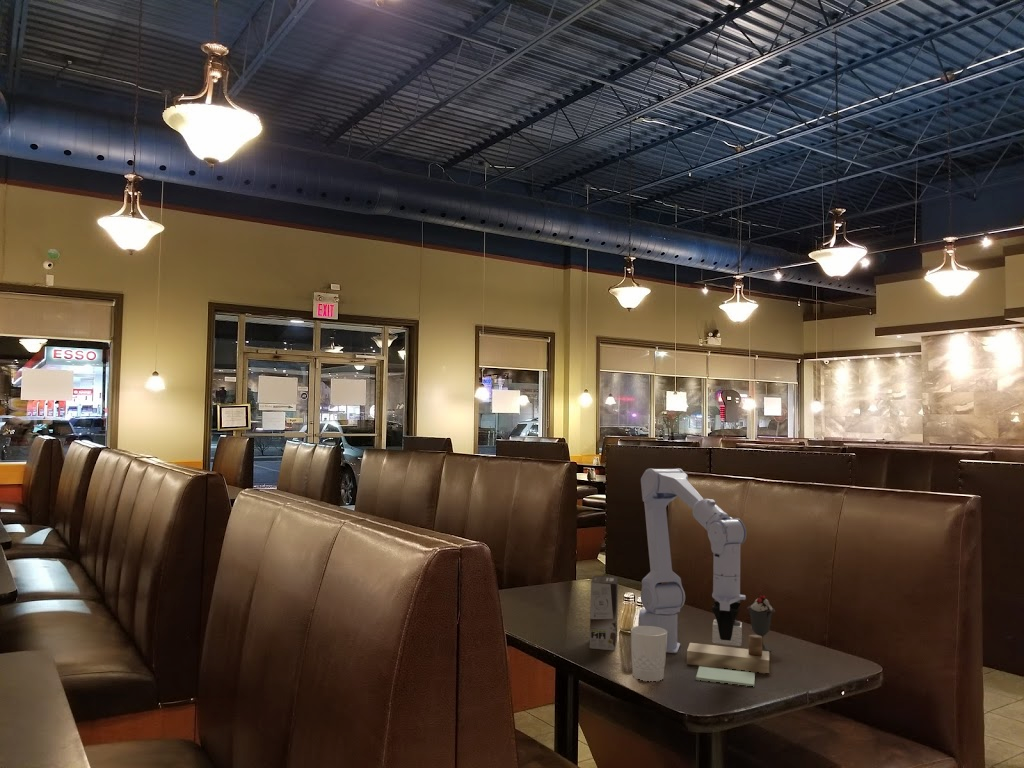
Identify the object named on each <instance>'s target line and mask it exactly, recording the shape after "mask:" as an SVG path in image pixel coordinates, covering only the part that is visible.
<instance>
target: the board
mask: <svg viewBox="0 0 1024 768" xmlns="http://www.w3.org/2000/svg"><path fill="white" fill-rule="evenodd" d="M755 676H756V672H749V671H741V670H732V669H724V668H716V667H708V666H700V665H698V668H697V673H696V675H695V680H696V681H700V680H701V681H702V682H708V681H710V682H709V683H716V682H720V683H719V684H724V683H728V684H727V685H732V684H738V685H737V686H739V685H746V686H745V687H747V686H753V687H752V688H755V683H756V682H755ZM701 681H700V682H701Z"/></svg>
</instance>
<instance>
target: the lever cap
mask: <svg viewBox="0 0 1024 768" xmlns="http://www.w3.org/2000/svg"><path fill="white" fill-rule="evenodd" d="M711 637H712V640H711V641H712V642H711V643H712V644H719V645H720V644H721V645H728V646H736V647H737V646H738V647H742V642H743V640H742V639H743V622H741V620H735V621H734V625H733V631H732V637H731V640H730V641H728V640H721V639H720V635H719V629H718V624H717V620H716V618H715V619H713V622H712V636H711Z"/></svg>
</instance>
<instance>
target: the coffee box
mask: <svg viewBox="0 0 1024 768" xmlns="http://www.w3.org/2000/svg"><path fill="white" fill-rule="evenodd" d="M618 593H619V578H618V576H606V575H605V576H597V575H595V576H593V577H592V579H591V582H590V614H589V615H590V617H589V618H590V619H589V648H590V649H594V650H605V651H615V650H616V646H617V642H618V605H619V604H618V601H619V600H618V599H619V597H618V595H619V594H618Z"/></svg>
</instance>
